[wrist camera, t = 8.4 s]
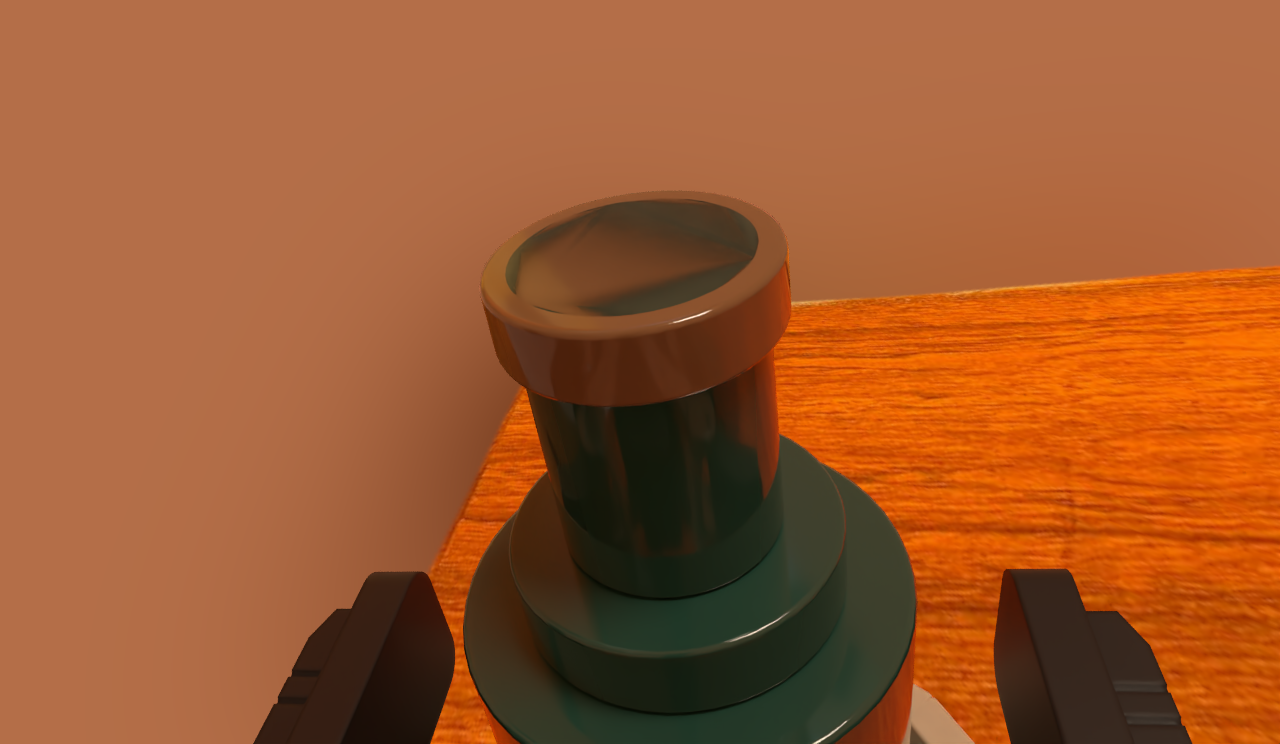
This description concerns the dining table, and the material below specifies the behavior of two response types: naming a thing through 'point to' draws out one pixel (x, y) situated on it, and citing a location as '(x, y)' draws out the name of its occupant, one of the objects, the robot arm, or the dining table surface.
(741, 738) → the bottle
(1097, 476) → the dining table surface
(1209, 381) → the dining table surface
